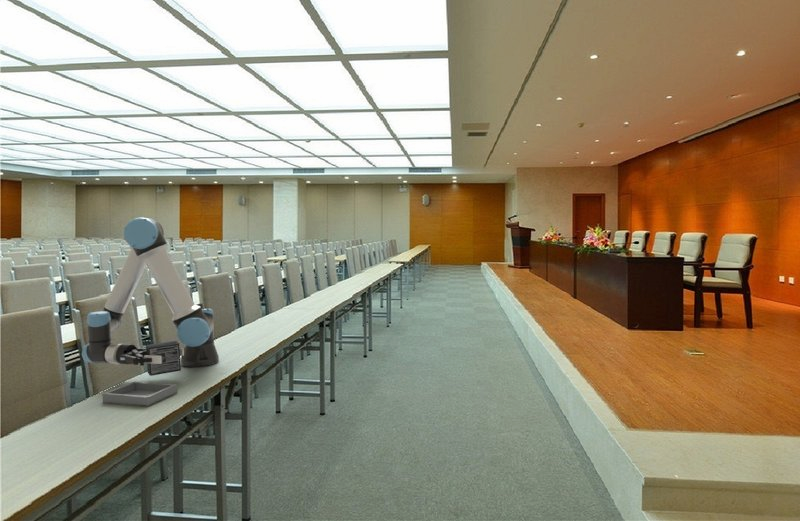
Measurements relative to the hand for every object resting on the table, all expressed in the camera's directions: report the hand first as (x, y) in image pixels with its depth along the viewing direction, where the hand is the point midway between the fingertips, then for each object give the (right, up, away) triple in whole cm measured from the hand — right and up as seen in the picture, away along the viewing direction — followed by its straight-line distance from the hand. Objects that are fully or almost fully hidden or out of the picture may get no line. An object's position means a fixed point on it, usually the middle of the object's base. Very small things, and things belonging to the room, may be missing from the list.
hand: (172, 355), depth 186 cm
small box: (-4, -6, +1) cm, 7 cm away
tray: (-3, -11, -17) cm, 21 cm away
